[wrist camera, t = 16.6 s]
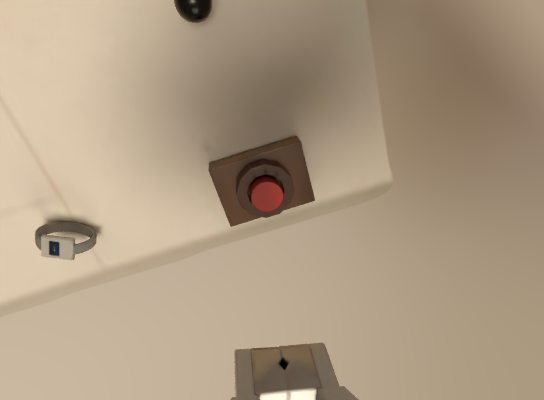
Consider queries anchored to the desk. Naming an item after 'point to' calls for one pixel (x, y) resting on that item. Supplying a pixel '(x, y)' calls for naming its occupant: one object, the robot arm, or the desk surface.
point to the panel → (259, 163)
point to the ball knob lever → (194, 9)
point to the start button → (266, 193)
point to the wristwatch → (63, 240)
